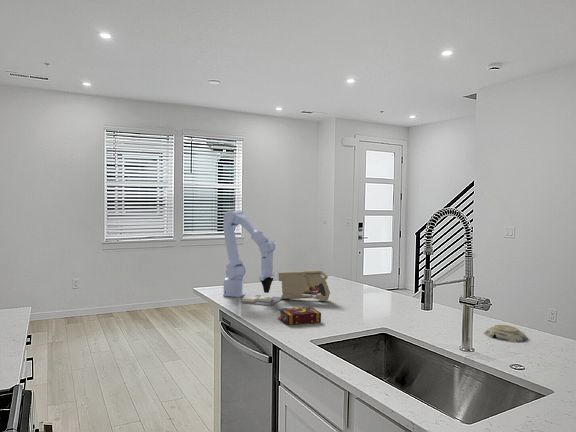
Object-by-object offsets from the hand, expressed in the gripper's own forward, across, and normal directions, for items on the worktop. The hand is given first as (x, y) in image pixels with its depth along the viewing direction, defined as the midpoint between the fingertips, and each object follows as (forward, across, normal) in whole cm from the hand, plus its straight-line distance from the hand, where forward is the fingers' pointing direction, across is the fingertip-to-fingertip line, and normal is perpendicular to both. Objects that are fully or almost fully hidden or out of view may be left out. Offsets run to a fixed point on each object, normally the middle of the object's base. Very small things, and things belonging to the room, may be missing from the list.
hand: (266, 292), depth 222 cm
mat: (+4, -1, +1) cm, 4 cm away
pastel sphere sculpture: (+4, +35, -9) cm, 36 cm away
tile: (+3, +1, 0) cm, 3 cm away
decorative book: (+4, -29, -26) cm, 39 cm away
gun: (+4, +8, -17) cm, 19 cm away
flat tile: (+3, -6, +6) cm, 9 cm away
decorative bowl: (+5, -18, -106) cm, 108 cm away
